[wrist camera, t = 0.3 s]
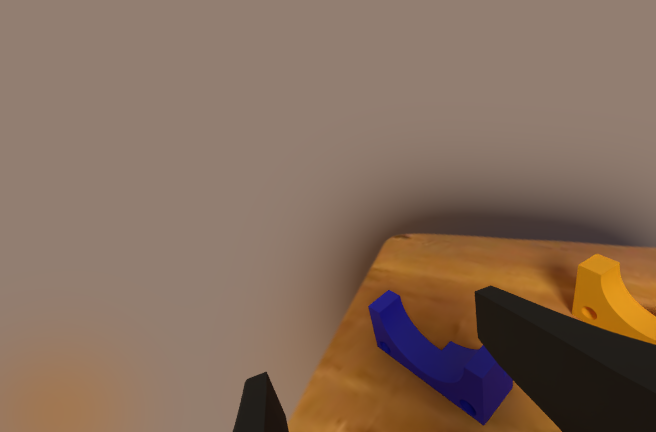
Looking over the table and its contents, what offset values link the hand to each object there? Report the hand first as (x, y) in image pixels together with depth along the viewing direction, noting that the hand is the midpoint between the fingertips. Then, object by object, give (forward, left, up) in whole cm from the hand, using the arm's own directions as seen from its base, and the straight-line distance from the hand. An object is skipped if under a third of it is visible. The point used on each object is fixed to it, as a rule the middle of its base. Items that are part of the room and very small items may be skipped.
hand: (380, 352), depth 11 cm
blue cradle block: (+13, -8, -21) cm, 26 cm away
